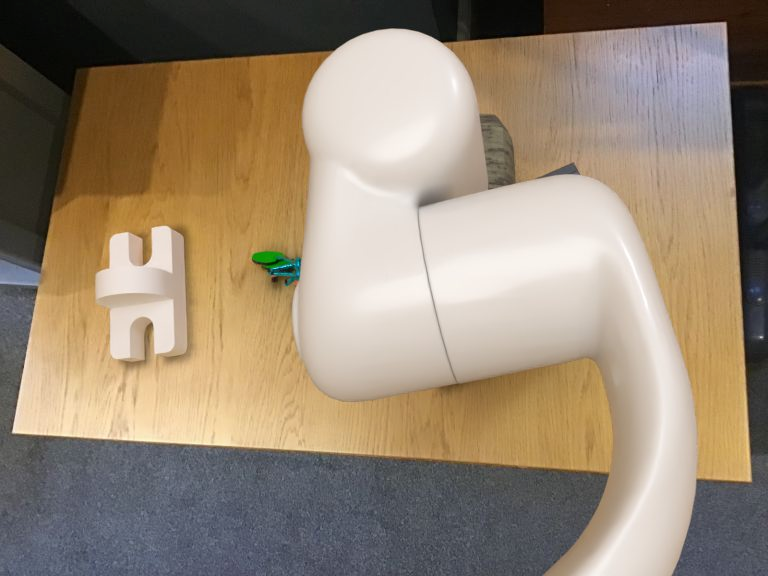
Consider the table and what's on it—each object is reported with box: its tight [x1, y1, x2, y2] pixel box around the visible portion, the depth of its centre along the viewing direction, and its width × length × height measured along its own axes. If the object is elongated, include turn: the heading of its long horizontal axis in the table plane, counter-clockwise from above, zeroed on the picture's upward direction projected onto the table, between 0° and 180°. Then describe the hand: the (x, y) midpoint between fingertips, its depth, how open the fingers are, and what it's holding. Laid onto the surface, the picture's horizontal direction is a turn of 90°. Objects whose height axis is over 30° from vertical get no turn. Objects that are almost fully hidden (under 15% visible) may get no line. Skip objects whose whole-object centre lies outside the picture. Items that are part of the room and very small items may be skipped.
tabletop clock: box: [479, 113, 517, 190], centre depth 76 cm, size 14×9×25 cm, turn 91°
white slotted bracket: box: [94, 225, 189, 363], centre depth 89 cm, size 10×18×10 cm, turn 6°
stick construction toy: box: [251, 250, 302, 288], centre depth 89 cm, size 12×7×8 cm
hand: (454, 272), depth 55 cm, fingers open, 5 cm apart
